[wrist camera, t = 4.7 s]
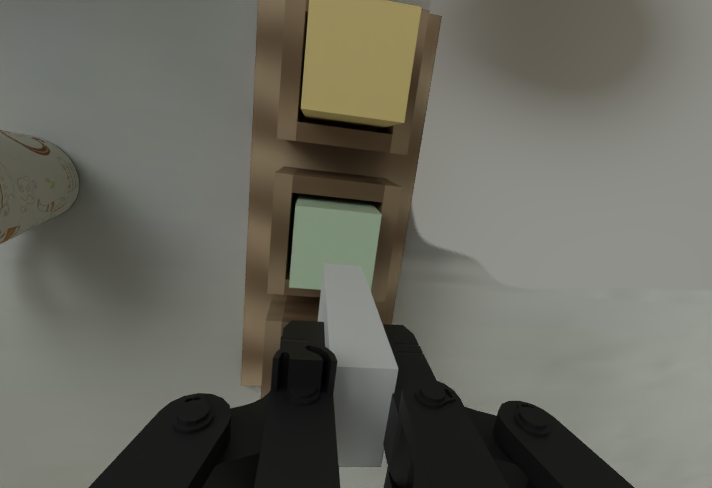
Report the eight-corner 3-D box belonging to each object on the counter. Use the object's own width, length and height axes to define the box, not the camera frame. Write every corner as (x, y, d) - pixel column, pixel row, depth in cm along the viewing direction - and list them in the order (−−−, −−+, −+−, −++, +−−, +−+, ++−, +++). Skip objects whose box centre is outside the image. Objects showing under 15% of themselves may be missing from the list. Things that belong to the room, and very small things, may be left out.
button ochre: (312, 33, 22) (310, -14, 15) (391, 46, 23) (421, 6, 16) (305, 118, 23) (300, 108, 17) (380, 128, 24) (404, 122, 17)
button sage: (300, 190, 27) (295, 205, 20) (366, 197, 28) (381, 214, 21) (295, 252, 28) (289, 287, 21) (358, 258, 29) (370, 293, 22)
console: (260, -13, 25) (239, -70, 18) (438, 19, 27) (478, -22, 20) (242, 379, 33) (223, 439, 27) (378, 385, 35) (393, 442, 28)
